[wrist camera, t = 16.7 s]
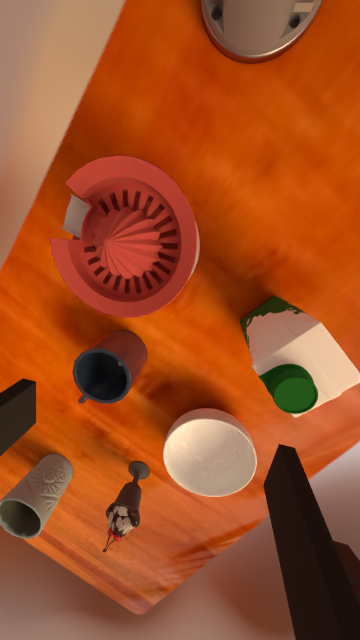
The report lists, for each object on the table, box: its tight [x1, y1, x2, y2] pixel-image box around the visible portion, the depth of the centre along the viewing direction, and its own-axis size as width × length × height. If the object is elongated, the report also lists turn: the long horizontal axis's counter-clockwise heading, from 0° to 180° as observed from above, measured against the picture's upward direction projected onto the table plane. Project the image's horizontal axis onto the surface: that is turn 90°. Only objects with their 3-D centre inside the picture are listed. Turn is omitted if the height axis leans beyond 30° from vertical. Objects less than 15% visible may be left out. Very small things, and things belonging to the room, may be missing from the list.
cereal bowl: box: [163, 408, 257, 497], centre depth 45 cm, size 17×17×7 cm
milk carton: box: [240, 295, 360, 418], centre depth 31 cm, size 9×9×20 cm
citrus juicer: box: [50, 155, 200, 317], centre depth 30 cm, size 16×17×20 cm
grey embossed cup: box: [0, 454, 74, 539], centre depth 51 cm, size 10×10×12 cm
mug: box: [73, 330, 147, 404], centre depth 42 cm, size 13×10×10 cm
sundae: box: [103, 462, 150, 552], centre depth 46 cm, size 7×7×15 cm
